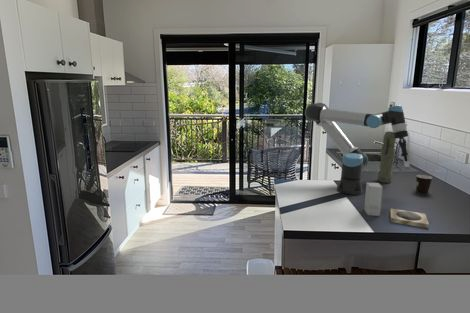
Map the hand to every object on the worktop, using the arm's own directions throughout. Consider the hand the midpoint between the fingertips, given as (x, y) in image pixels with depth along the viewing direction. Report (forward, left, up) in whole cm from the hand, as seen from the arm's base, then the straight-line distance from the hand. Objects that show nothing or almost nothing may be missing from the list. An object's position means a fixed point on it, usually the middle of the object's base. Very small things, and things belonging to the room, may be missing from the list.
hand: (407, 166), depth 187 cm
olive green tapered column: (-10, +30, -19) cm, 37 cm away
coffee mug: (+12, +17, -19) cm, 28 cm away
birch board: (+1, -38, -19) cm, 42 cm away
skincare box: (-16, -37, -19) cm, 45 cm away
